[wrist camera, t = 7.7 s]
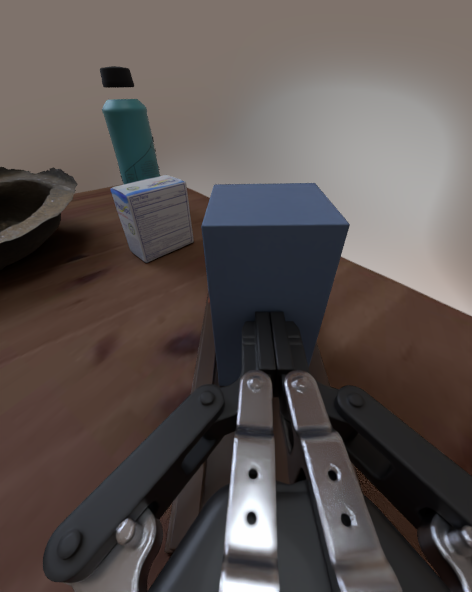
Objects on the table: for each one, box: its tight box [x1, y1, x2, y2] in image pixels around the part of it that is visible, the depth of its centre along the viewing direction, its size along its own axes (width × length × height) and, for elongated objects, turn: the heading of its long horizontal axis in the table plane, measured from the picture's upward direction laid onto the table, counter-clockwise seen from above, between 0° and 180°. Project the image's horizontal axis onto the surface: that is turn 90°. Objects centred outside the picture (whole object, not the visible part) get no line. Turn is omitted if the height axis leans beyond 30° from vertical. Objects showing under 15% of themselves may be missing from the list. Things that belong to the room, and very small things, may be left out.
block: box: [201, 183, 349, 386], centre depth 16 cm, size 6×6×12 cm
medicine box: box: [111, 175, 194, 263], centre depth 32 cm, size 8×4×9 cm, turn 135°
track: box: [165, 290, 363, 553], centre depth 22 cm, size 10×28×1 cm, turn 179°
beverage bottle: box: [100, 66, 160, 185], centre depth 40 cm, size 6×7×20 cm
